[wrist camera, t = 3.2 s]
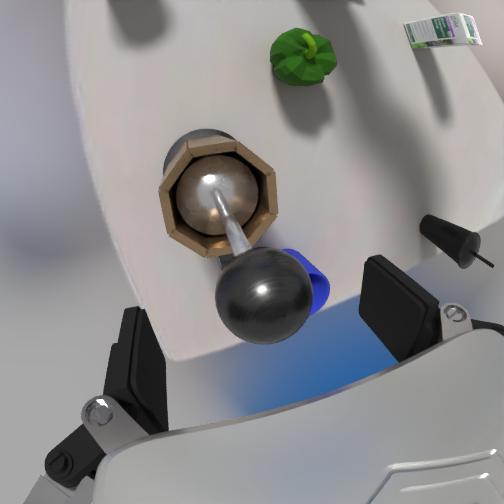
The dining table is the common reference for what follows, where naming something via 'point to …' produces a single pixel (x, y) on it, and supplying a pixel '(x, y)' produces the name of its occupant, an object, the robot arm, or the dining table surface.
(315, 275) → the mug
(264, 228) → the tan octagonal hollow container
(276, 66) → the bell pepper
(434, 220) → the drinking cup
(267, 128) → the dining table surface
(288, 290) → the plunger
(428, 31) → the syrup box
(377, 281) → the robot arm
